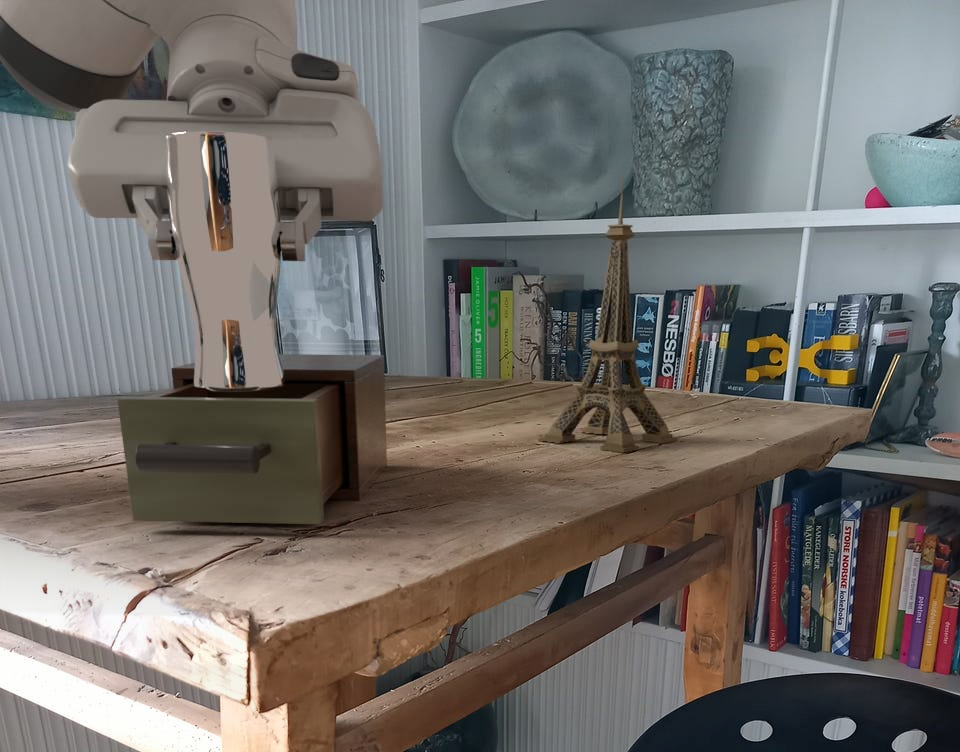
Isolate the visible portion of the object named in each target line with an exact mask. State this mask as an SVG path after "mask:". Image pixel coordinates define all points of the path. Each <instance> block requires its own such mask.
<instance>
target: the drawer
mask: <svg viewBox="0 0 960 752" xmlns="http://www.w3.org/2000/svg"><path fill="white" fill-rule="evenodd" d="M116 399H117V406H118V415H119V423H120V431H121V437H122V446H123V453H124V454H123V455H124V461H125V468H126V475H127V483H128V484H127V485H128V491H129V499H130V508H131V515H132V521H134V522H176V523H177V522H184V523H186V522H187V523H233V524H234V523H237V524H239V523H240V524H281V525H282V524H287V525H289V524H290V525H296V524H297V525H321V524H322V523H323V522H324V520H325V513H324V512H325V511H324V504H325V503H326V502H327V501H328V499H329V498H330V497H331V495H332V494H333V493H334V492H335V491H336V490H337V489H338V488H339V487H340V486H341V485H342V484H343V483H344V481H345V480H346V479H347V457H346V435H345V412H344V390H343V382H286V386H285V387H283V388H280V389H275V390H267V391H254V392H212V391H202V390H198V389H196V388H195V387H194V383H191V384H188V385H185V386H181V387H178V388H175V389H173V388H172V389H168V390H165V391H162V392H158V393H155V394H151V395H148V396H123V397H119V398H116Z"/></svg>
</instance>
